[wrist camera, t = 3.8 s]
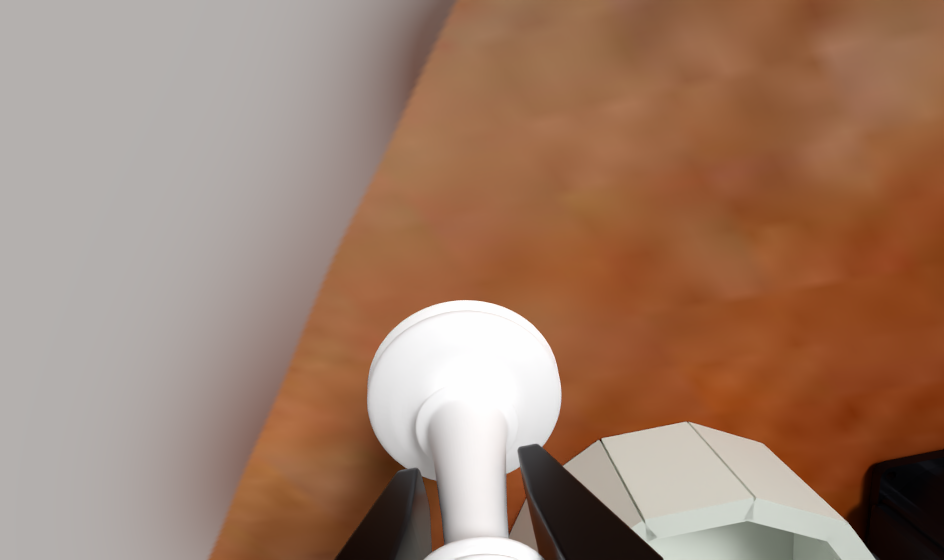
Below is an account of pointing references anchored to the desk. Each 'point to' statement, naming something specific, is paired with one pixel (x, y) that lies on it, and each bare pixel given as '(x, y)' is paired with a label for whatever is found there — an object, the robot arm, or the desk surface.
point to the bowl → (708, 498)
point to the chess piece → (465, 414)
